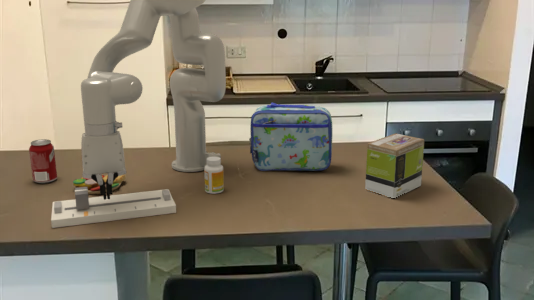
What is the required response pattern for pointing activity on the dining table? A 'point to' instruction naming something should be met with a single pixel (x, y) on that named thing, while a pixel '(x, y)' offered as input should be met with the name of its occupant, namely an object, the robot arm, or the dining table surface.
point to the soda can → (43, 161)
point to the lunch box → (291, 137)
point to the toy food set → (94, 186)
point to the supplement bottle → (214, 175)
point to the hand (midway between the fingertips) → (106, 197)
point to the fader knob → (81, 198)
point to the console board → (113, 208)
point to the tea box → (394, 165)
